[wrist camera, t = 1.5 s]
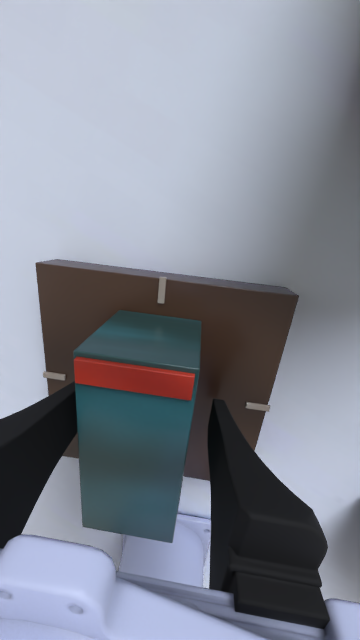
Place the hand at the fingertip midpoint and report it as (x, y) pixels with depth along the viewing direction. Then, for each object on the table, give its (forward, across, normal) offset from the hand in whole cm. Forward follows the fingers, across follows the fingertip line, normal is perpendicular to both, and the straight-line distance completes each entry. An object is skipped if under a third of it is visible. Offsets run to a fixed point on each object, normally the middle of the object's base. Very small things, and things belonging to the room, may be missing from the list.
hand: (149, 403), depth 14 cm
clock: (+3, 0, 0) cm, 3 cm away
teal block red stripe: (+1, 0, 0) cm, 1 cm away
